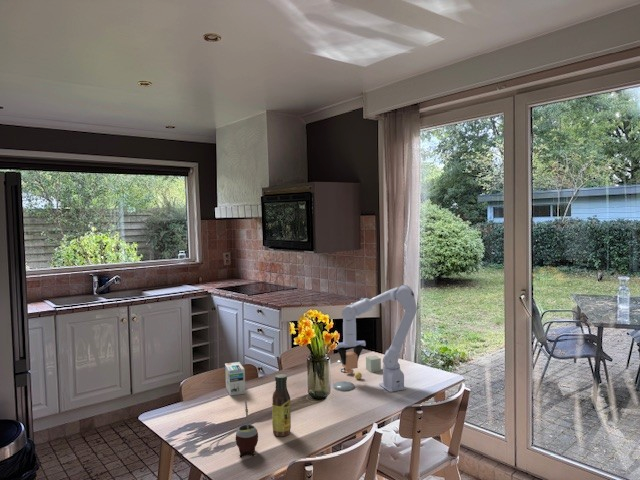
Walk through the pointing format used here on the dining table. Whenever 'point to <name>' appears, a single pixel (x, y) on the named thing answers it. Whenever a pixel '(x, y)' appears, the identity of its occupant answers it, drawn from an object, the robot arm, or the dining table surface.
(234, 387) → the light bulb box
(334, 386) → the saucer
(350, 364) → the peach matte cube
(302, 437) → the dining table surface
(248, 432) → the mate gourd
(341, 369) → the balance
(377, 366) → the sage green cube
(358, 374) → the ball
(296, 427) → the dining table surface
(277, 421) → the sauce bottle
